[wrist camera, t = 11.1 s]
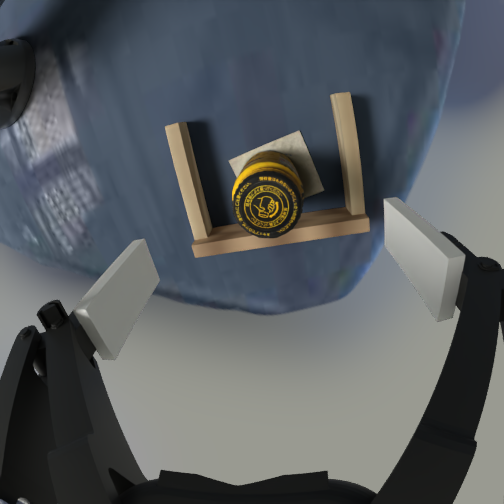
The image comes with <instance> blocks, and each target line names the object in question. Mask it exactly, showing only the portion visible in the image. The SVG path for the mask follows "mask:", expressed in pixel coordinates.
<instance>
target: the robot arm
mask: <svg viewBox="0 0 504 504" xmlns="http://www.w3.org/2000/svg"><path fill="white" fill-rule="evenodd" d="M4 1H5V0H0V7H1V5H2V4H3V2H4ZM34 75H35V57H34V52H33V49H32V47H31V46H30V44H29V43H28V42H27V41H25V40H21V39H7V40H4V41H1V42H0V129H4V128H7V127H9V126H10V125H12V124H13V123H14V122H15V121H16V120H17V119H18V117H19V116H20V115H21V113H22V111H23V110H24V108H25V106H26V104H27V101H28V99H29V96H30V93H31V90H32V86H33V81H34ZM384 223H385V247H386V248H387V250H388V251H389V253H390V254H391V255H392V257H393V258H394V259H395V261H396V262H397V263H398V264H399V266H400V268H401V269H402V270H403V272H404V273H405V275H406V276H407V277H408V279H409V280H410V282H411V283H412V285H413V286H414V288H415V289H416V291H417V292H418V294H419V295H420V297H421V298H422V300H423V301H424V303H425V304H426V306H427V307H428V309H429V310H430V312H431V314H432V315H433V317H434V318H435V320H436V321H437V322H439V321H443V320H447V319H450V318H453V314H454V311H455V306H457V307H458V309H459V310H460V311H461V312H460V316H459V320H458V323H457V327H456V330H455V333H454V337H453V340H452V343H451V346H450V349H449V353H448V355H447V358H446V361H445V364H444V367H443V369H442V372H441V375H440V377H439V380H438V382H437V385H436V387H435V390H434V392H433V394H432V397H431V399H430V402H429V404H428V406H427V408H426V410H425V412H424V414H423V417H422V419H421V421H420V423H419V425H418V427H417V429H416V431H415V433H414V434H413V436H412V438H411V440H410V442H409V444H408V446H407V447H406V449H405V451H404V453H403V455H402V456H401V458H400V460H399V461H398V463H397V465H396V466H395V468H394V469H393V471H392V473H391V474H390V476H389V478H388V479H387V480H386V482H385V483H384V485H383V486H382V488H381V490H380V491H379V492H378V494H376V493H375V492H373V491H371V490H369V489H368V488H366V487H363V486H361V485H358V484H355V483H351V482H348V481H342V480H336V479H328V472H327V471H321V472H313V473H304V474H292V475H282V476H279V477H275V478H271V479H267V480H263V481H259V482H255V483H251V484H245V485H239V486H237V485H231V484H227V483H224V482H221V481H217V480H213V479H211V478H207V477H204V476H201V475H198V474H190V473H181V472H172V471H165V470H161V471H160V475H159V479H154V480H149V481H148V480H147V479H146V478H145V476H144V475H143V473H142V472H141V470H140V468H139V466H138V464H137V462H136V460H135V458H134V456H133V454H132V452H131V450H130V448H129V445H128V443H127V441H126V439H125V437H124V435H123V432H122V430H121V427H120V425H119V423H118V420H117V418H116V416H115V413H114V410H113V408H112V405H111V402H110V399H109V397H108V394H107V391H106V388H105V385H104V383H103V380H102V377H101V373H100V370H99V367H98V364H97V361H96V360H95V358H94V357H93V354H94V352H95V351H96V350H97V352H98V353H99V355H100V356H101V358H102V359H103V360H116V358H117V356H118V354H119V352H120V350H121V348H122V347H123V345H124V343H125V341H126V339H127V337H128V335H129V334H130V332H131V330H132V328H133V326H134V325H135V323H136V321H137V319H138V317H139V316H140V314H141V312H142V310H143V308H144V307H145V305H146V303H147V301H148V300H149V298H150V296H151V294H152V293H153V291H154V289H155V288H156V286H157V284H158V282H159V281H160V279H159V276H158V274H157V271H156V269H155V266H154V263H153V261H152V258H151V255H150V253H149V250H148V247H147V244H146V242H145V239H140V240H135V241H133V242H132V243H131V244H130V245H129V246H128V247H127V248H126V249H125V250H124V251H123V252H122V253H121V255H120V256H119V257H118V258H117V259H116V260H115V261H114V262H113V263H112V265H111V266H110V267H109V268H108V269H107V270H106V271H105V272H104V274H103V275H102V276H101V277H100V278H99V279H98V280H97V282H96V283H95V284H94V285H93V286H92V288H91V289H90V290H89V291H88V292H87V293H86V295H85V296H84V297H83V298H82V299H81V301H80V302H79V303H78V304H77V306H76V307H75V308H74V309H73V311H72V312H71V314H70V315H69V316H68V315H67V313H66V311H65V309H64V308H63V306H62V304H61V302H60V301H59V300H54V301H51V302H48V303H47V304H45V305H44V306H43V307H42V308H41V309H40V310H39V311H38V313H37V316H38V318H39V319H40V321H41V323H42V325H43V326H44V328H45V329H46V332H43V333H39V332H38V330H37V329H36V327H35V326H32V325H31V326H28V327H25V328H24V329H22V330H21V331H20V333H19V334H18V335H17V337H16V339H15V342H14V344H13V346H12V349H11V351H10V354H9V357H8V359H7V362H6V365H5V368H4V371H3V373H2V376H1V379H0V504H453V502H454V500H455V498H456V496H457V494H458V492H459V490H460V488H461V485H462V483H463V481H464V479H465V476H466V474H467V472H468V469H469V467H470V465H471V462H472V459H473V457H474V454H475V451H476V447H477V442H476V441H475V440H474V437H475V433H476V430H477V427H478V424H479V421H480V418H481V414H482V411H483V407H484V403H485V400H486V396H487V392H488V387H489V383H490V378H491V373H492V368H493V363H494V357H495V351H496V345H497V337H498V329H499V322H500V323H501V328H502V334H503V340H504V269H502V268H501V266H500V264H499V263H498V262H497V261H495V260H493V259H490V258H488V257H476V256H475V255H474V254H473V253H472V252H471V251H469V250H468V249H467V248H466V247H465V246H463V245H462V244H461V243H460V242H458V240H457V239H456V238H454V237H453V236H452V235H450V234H448V233H446V232H439V231H438V230H437V229H436V228H435V227H433V226H432V225H431V224H430V223H428V222H427V221H426V220H425V219H424V218H422V217H421V216H420V215H419V214H418V213H416V212H415V211H414V210H413V209H411V208H410V207H409V206H407V205H406V204H405V203H404V202H402V201H401V200H400V199H398V198H397V197H394V198H386V199H384ZM34 367H35V369H36V370H37V371H38V373H39V375H37V373H36V372H35V370H34Z"/></svg>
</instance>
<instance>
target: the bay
mask: <svg viewBox="0 0 504 504" xmlns="http://www.w3.org/2000/svg"><path fill="white" fill-rule="evenodd" d="M330 98H331V103H332V109H333V115H334V120H335V126H336V133H337V139H338V146H339V153H340V160H341V168H342V176H343V185H344V194H345V204H346V207H341V208H334V209H327V210H320V211H314V212H307V213H302V214H301V217H300V219H299V220H298V223H297V224H296V225H295V227H294V228H293V229H292V230H290V231H289V232H288V233H286V234H284V235H282V236H280V237H278V238H258V237H256V236H254V235H252V234H249V233H248V232H246V231H245V230H244V229H243V228H242V227H241V226H240V225H239V224H232V225H227V226H221V227H215V228H212V224H211V220H210V216H209V212H208V209H207V205H206V201H205V197H204V193H203V189H202V185H201V181H200V177H199V173H198V169H197V165H196V161H195V157H194V153H193V149H192V144H191V140H190V136H189V132H188V128H187V123H186V122H180V123H175V124H172V125H169V126H165V130H166V134H167V138H168V142H169V146H170V150H171V154H172V158H173V162H174V166H175V170H176V174H177V178H178V181H179V185H180V189H181V193H182V196H183V200H184V204H185V207H186V211H187V214H188V218H189V221H190V225H191V228H192V232H193V235H194V238H195V241H194V242H193V244H192V248H193V252H194V255H195V258H197V257H204V256H210V255H217V254H223V253H230V252H237V251H243V250H250V249H256V248H263V247H269V246H276V245H282V244H289V243H295V242H302V241H309V240H315V239H322V238H329V237H335V236H342V235H348V234H355V233H362V232H368V231H370V229H369V217H368V216H367V215H366V214H365V206H364V193H363V181H362V171H361V162H360V154H359V146H358V138H357V131H356V124H355V118H354V112H353V106H352V100H351V95H350V92H346V93H335V94H332V95H330Z"/></svg>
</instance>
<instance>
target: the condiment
mask: <svg viewBox="0 0 504 504" xmlns="http://www.w3.org/2000/svg"><path fill="white" fill-rule="evenodd" d="M286 153H287V154H288V155H286ZM289 154H291V155H292V156H289ZM229 163H230V165H231V167H232V169H233V171H234V173H235V175H236V177H237V179H236V181H235V183H234V187H233V190H232V206H233V214H234V216H235V218H236V221H237V222H238V224H239V225H240V226H241V227H242V228H243V229H244V230H245V231H246V232H248V233H249V234H252V235H254V236H256V237H258V238H278V237H280V236H282V235H284V234H286V233H288V232H289V231H290V230H292V229H293V228H294V227H295V225H296V224H297V223H298V220H299V219H300V217H301V214H302V207H303V202H304V198H306V197H308V196H311V195H314V194H317V193H319V192H322V191H324V188H323V186H322V183H321V181H320V178H319V176H318V173H317V171H316V168H315V166H314V164H313V161H312V159H311V156H310V154H309V152H308V149H307V147H306V145H305V142H304V140H303V138H302V135H301V133H300V131H297V132H295V133H292V134H290V135H287V136H285V137H282V138H280V139H278V140H275V141H273V142H270V143H268V144H265V145H263V146H261V147H258V148H256V149H254V150H252V151H249V152H247V153H245V154H243V155H240V156H238V157H236V158H234V159H232V160H230V161H229Z"/></svg>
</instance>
